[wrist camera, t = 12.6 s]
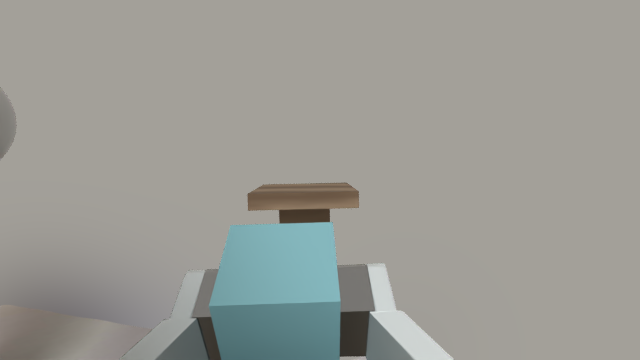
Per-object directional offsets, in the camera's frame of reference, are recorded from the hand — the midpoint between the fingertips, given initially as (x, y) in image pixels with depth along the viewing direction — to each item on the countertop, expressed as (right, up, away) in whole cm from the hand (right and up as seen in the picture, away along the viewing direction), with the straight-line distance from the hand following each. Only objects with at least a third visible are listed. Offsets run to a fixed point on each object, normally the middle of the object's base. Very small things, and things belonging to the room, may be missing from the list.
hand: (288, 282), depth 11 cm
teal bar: (0, -10, +2) cm, 10 cm away
